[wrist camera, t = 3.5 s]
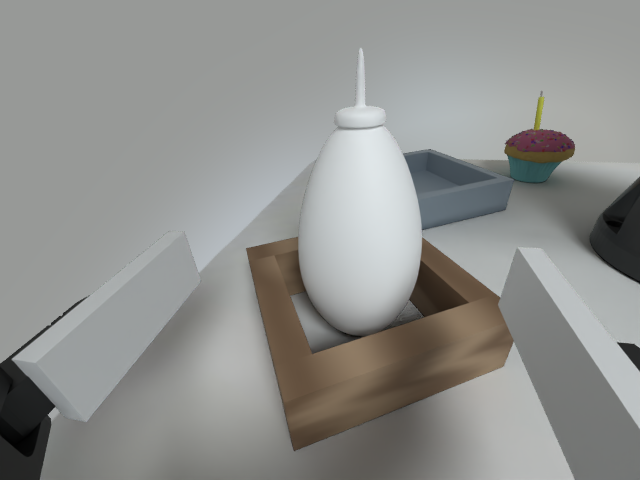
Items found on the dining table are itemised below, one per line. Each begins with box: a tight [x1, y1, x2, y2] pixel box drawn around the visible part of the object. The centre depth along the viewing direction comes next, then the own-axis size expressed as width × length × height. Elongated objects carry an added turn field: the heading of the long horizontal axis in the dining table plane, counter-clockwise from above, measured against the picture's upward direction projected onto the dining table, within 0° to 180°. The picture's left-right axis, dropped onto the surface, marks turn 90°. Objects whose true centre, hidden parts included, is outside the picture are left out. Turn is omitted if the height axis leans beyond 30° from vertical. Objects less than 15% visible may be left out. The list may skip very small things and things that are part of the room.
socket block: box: [246, 237, 514, 451], centre depth 22 cm, size 14×14×4 cm
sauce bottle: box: [298, 48, 422, 336], centre depth 19 cm, size 8×8×18 cm
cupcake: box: [505, 91, 575, 183], centre depth 43 cm, size 9×8×12 cm
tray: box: [403, 149, 514, 230], centre depth 41 cm, size 16×16×4 cm
